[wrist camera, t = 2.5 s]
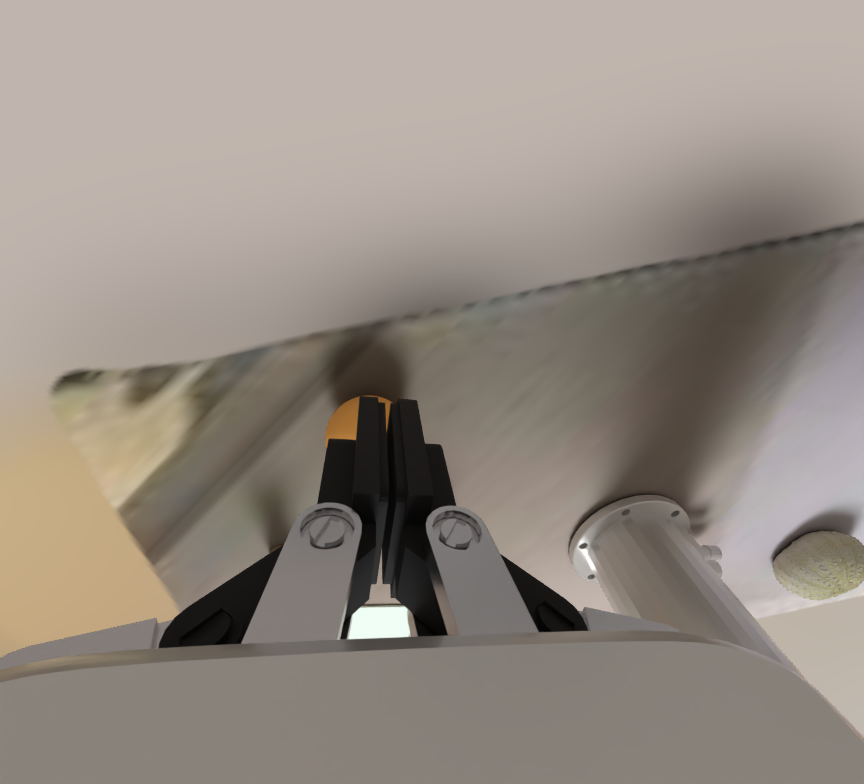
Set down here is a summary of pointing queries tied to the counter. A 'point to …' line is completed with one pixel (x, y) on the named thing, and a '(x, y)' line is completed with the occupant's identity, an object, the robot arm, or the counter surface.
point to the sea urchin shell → (821, 565)
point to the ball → (349, 419)
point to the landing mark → (379, 622)
